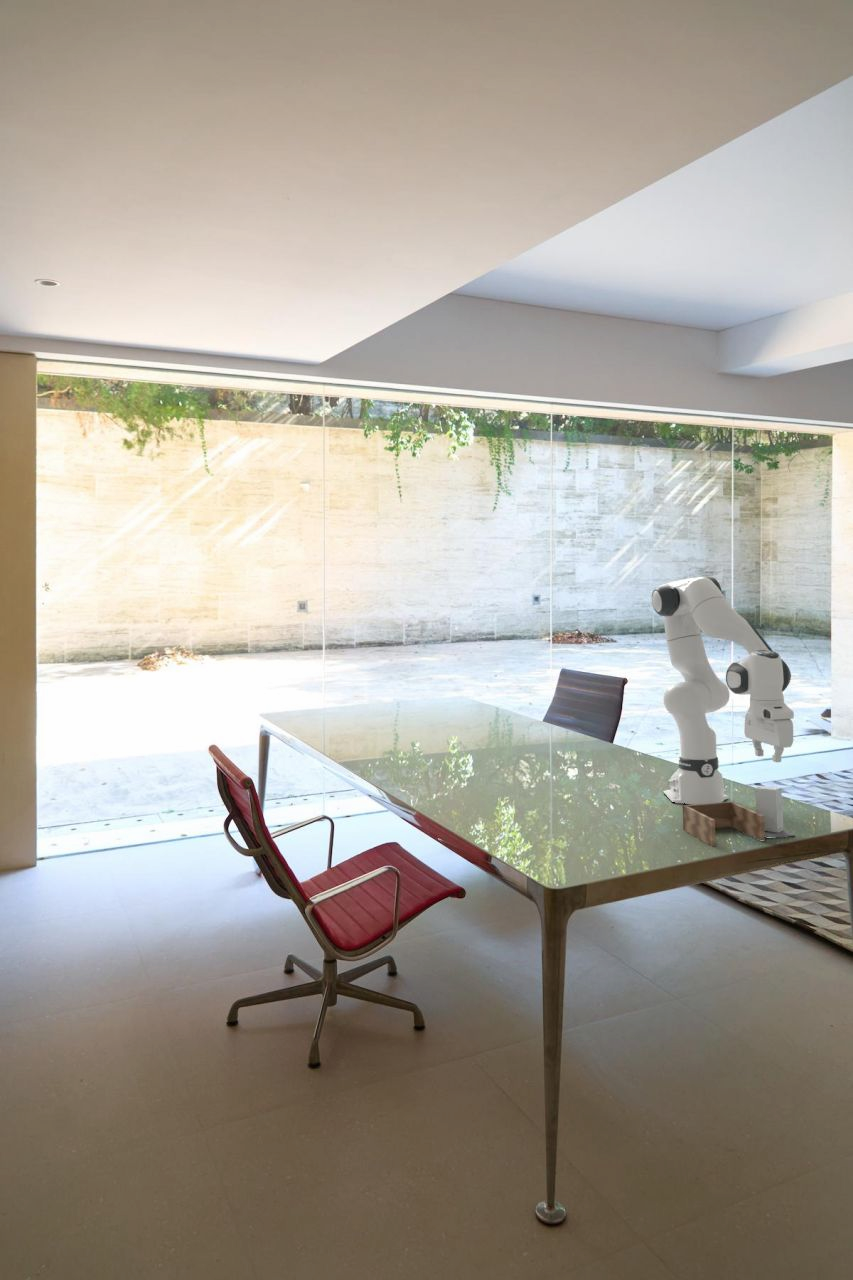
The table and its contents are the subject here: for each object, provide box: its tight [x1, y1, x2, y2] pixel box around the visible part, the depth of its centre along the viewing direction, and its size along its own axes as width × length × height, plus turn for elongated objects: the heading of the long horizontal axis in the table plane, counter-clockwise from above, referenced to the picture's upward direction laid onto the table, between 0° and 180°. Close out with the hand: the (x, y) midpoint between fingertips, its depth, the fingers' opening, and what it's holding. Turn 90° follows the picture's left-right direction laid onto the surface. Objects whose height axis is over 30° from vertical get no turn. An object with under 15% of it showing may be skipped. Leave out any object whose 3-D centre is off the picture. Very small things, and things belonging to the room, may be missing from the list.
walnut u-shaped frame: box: [682, 801, 766, 847], centre depth 257 cm, size 18×15×7 cm
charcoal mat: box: [764, 829, 796, 838], centre depth 258 cm, size 12×8×1 cm, turn 9°
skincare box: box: [754, 785, 785, 833], centre depth 258 cm, size 6×4×12 cm
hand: (768, 758), depth 257 cm, fingers open, 8 cm apart
